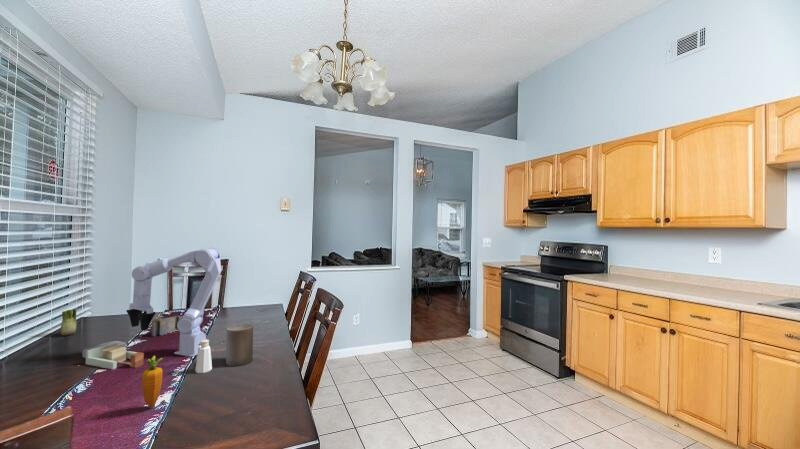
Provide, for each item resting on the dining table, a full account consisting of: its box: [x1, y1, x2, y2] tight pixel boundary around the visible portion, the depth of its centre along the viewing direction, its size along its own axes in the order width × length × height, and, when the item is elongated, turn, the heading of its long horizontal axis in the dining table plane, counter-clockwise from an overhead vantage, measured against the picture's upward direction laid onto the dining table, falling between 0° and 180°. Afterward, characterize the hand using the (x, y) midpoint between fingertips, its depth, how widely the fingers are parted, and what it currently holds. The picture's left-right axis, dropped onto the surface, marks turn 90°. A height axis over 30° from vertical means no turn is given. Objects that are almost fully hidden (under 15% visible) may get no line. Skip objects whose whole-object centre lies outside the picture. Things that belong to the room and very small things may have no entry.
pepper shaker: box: [194, 338, 213, 374], centre depth 124 cm, size 5×5×11 cm
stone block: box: [81, 340, 127, 359], centre depth 138 cm, size 12×5×10 cm
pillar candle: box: [225, 322, 254, 367], centre depth 133 cm, size 10×10×15 cm
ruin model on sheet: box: [151, 315, 181, 338], centre depth 164 cm, size 11×3×10 cm, turn 150°
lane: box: [85, 342, 138, 370], centre depth 130 cm, size 14×10×5 cm
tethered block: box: [102, 346, 145, 369], centre depth 128 cm, size 16×5×5 cm, turn 74°
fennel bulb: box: [59, 308, 77, 337], centre depth 158 cm, size 6×5×12 cm
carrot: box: [141, 355, 164, 409], centre depth 98 cm, size 5×5×15 cm
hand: (139, 328), depth 138 cm, fingers open, 7 cm apart
